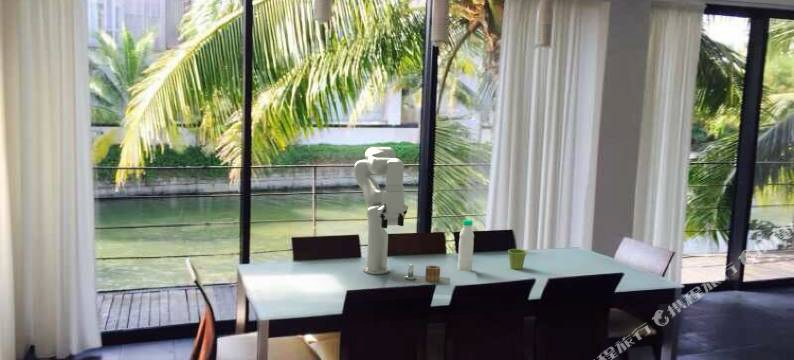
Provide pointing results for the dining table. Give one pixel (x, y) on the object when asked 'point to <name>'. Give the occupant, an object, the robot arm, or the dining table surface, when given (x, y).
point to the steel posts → (410, 273)
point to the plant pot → (517, 258)
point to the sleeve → (432, 273)
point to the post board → (420, 280)
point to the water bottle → (466, 247)
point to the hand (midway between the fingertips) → (392, 226)
